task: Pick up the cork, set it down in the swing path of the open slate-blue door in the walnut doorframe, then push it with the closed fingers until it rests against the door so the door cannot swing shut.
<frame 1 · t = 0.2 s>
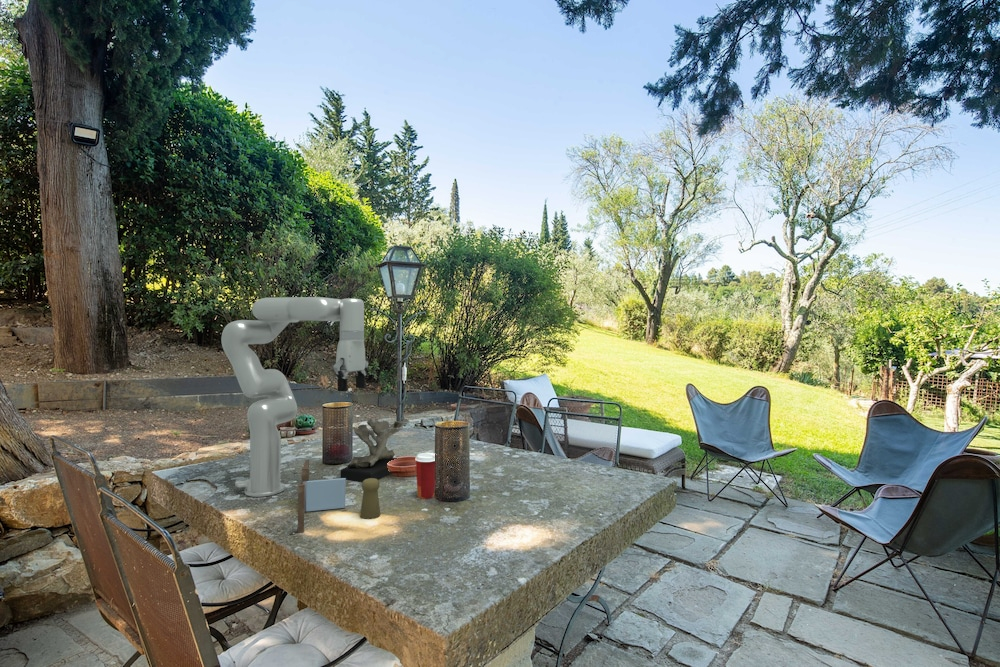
hand: (351, 389, 155), 37 cm above the table, tool pointing down, fingers open, 9 cm apart
door: (324, 494, 148), point 5 cm above the table, hinge at 90.0°
coral: (381, 474, 187), on the table
paper cup: (425, 496, 162), on the table
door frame: (302, 519, 140), on the table
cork: (370, 516, 145), on the table
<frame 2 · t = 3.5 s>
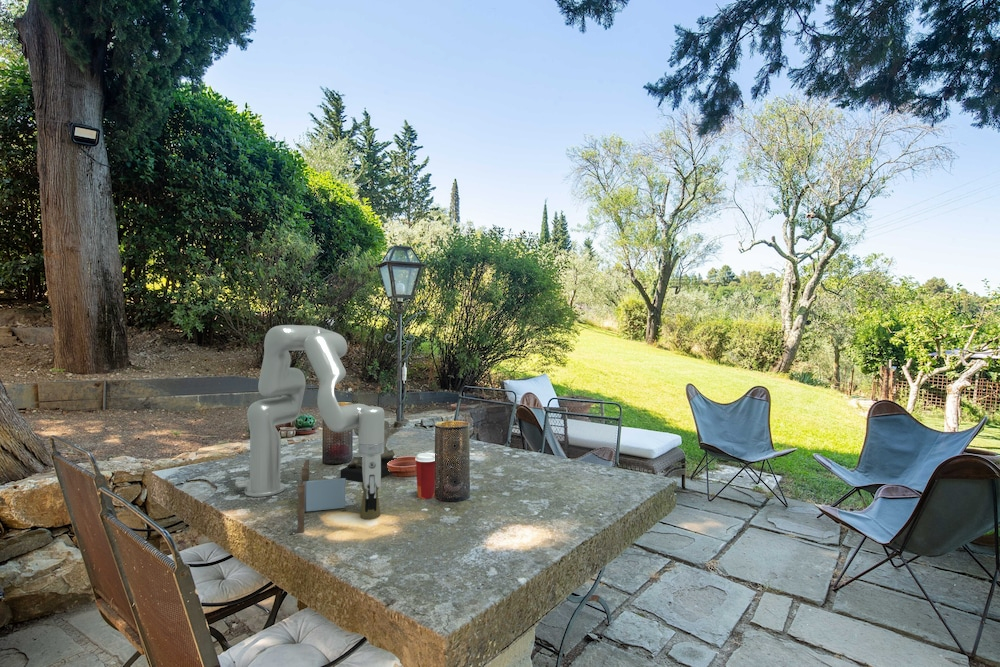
hand: (370, 507, 145), 2 cm above the table, tool pointing down, fingers closed on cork, 3 cm apart
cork: (370, 516, 145), on the table, touching gripper
everything else where it was.
when the fingers open (4 cm above the table, at t = 9.2 s): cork drops 1 cm, on the table.
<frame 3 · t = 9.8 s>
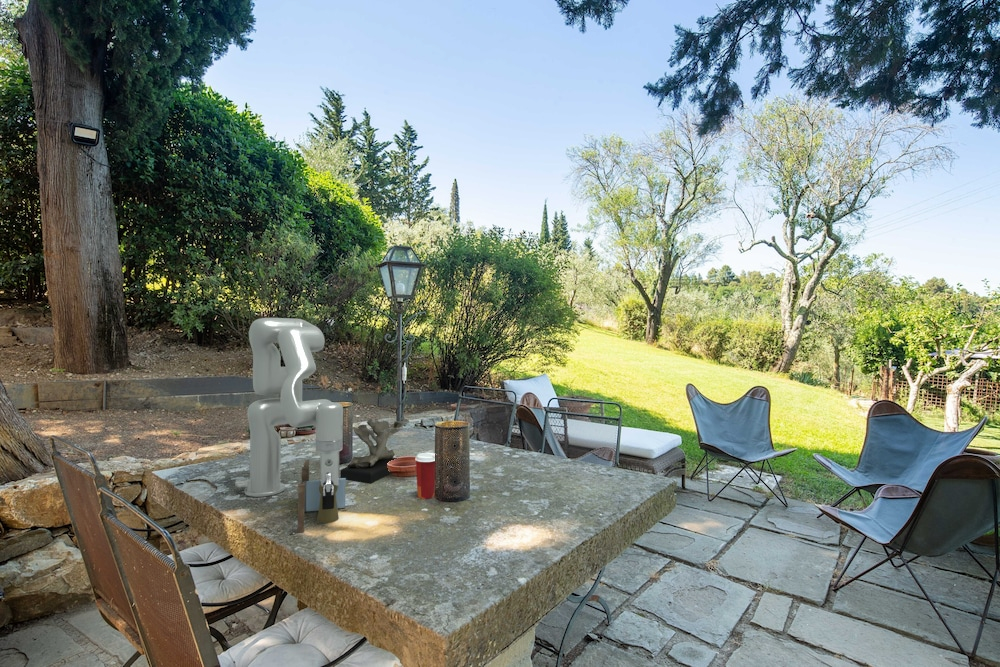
hand: (328, 502, 141), 5 cm above the table, tool pointing down, fingers open, 9 cm apart
door: (324, 494, 148), point 5 cm above the table, hinge at 90.0°, touching gripper
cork: (327, 519, 141), on the table
everything else where it was.
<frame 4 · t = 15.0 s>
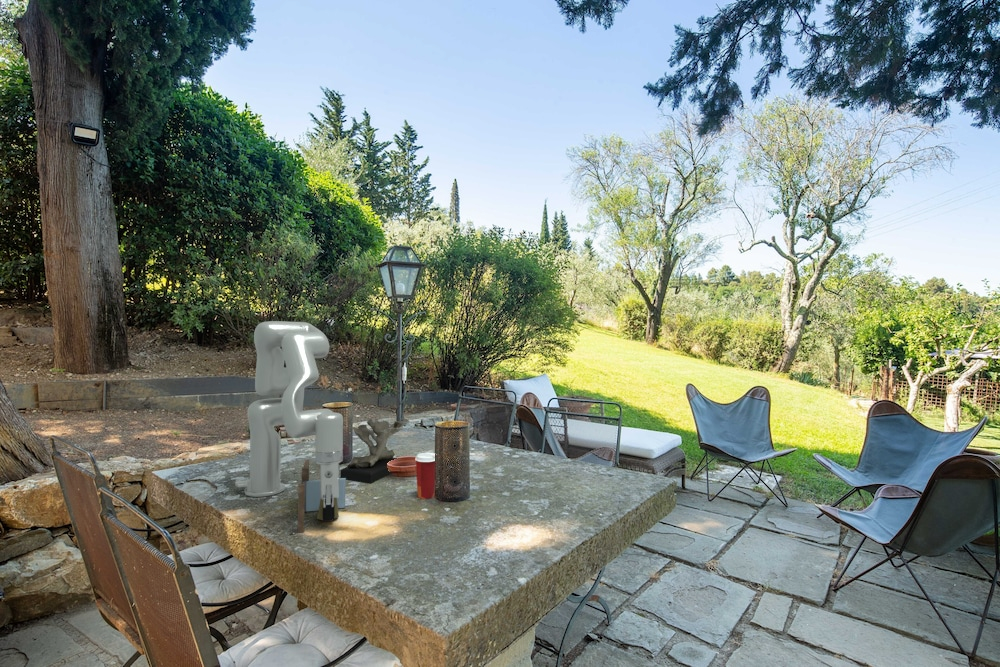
hand: (328, 519, 138), 1 cm above the table, tool pointing down, fingers closed
door: (324, 494, 148), point 5 cm above the table, hinge at 90.0°
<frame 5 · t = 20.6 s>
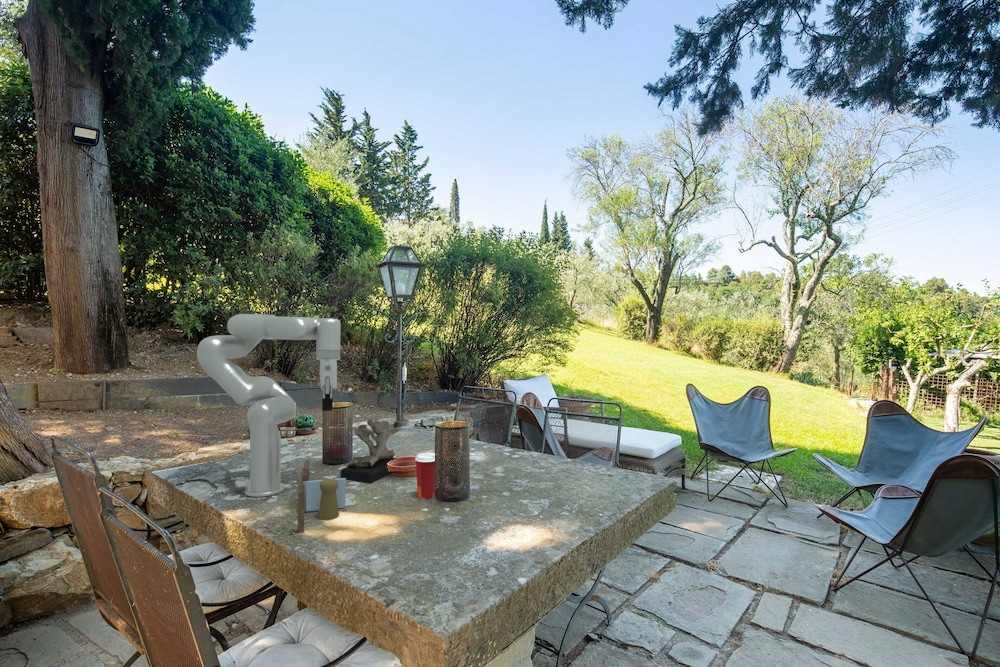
hand: (327, 410, 159), 29 cm above the table, tool pointing down, fingers closed
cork: (328, 516, 143), on the table
everything else where it was.
at the end: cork inside the target area (0.6 cm from its centre), on the table; door at +90° (first picture: +90°); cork tilted 0° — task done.
